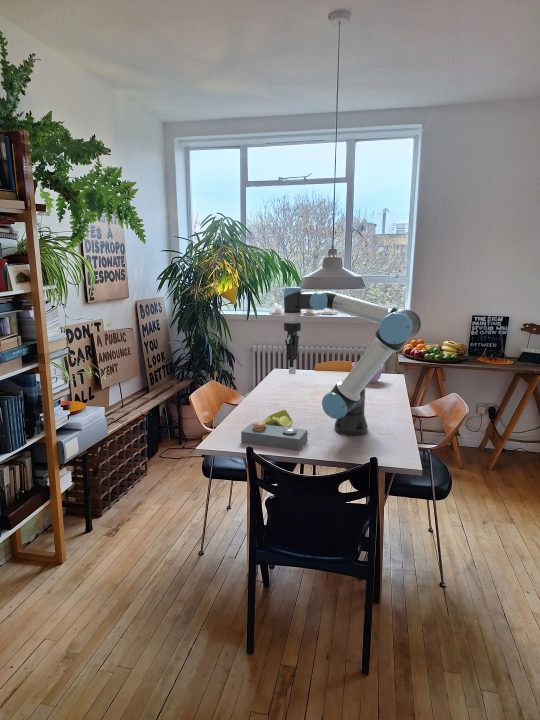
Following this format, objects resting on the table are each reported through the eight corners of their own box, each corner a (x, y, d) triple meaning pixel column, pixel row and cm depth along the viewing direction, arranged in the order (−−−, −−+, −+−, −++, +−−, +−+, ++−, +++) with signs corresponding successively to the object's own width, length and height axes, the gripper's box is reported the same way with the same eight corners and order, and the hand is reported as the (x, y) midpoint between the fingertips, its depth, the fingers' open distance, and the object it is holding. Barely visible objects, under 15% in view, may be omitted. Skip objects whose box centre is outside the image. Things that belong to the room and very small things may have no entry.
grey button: (298, 441, 199) (298, 428, 198) (294, 446, 194) (294, 432, 193) (285, 439, 201) (285, 426, 200) (281, 444, 196) (281, 431, 195)
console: (307, 440, 201) (307, 429, 200) (298, 450, 190) (299, 439, 189) (252, 433, 210) (252, 422, 209) (241, 442, 199) (241, 431, 198)
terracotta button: (267, 435, 204) (267, 422, 203) (263, 439, 199) (262, 426, 198) (256, 433, 206) (255, 420, 205) (251, 437, 201) (250, 424, 200)
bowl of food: (388, 381, 303) (389, 364, 300) (373, 387, 288) (374, 369, 286) (361, 376, 316) (362, 360, 313) (345, 382, 301) (346, 365, 299)
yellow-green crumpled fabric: (269, 415, 229) (287, 408, 226) (275, 428, 229) (293, 421, 226) (257, 425, 210) (277, 417, 207) (264, 440, 210) (283, 432, 207)
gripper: (289, 320, 213) (289, 370, 218) (279, 323, 201) (279, 376, 206) (304, 320, 211) (304, 371, 215) (295, 324, 199) (295, 377, 203)
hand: (292, 373), depth 211 cm, fingers closed
